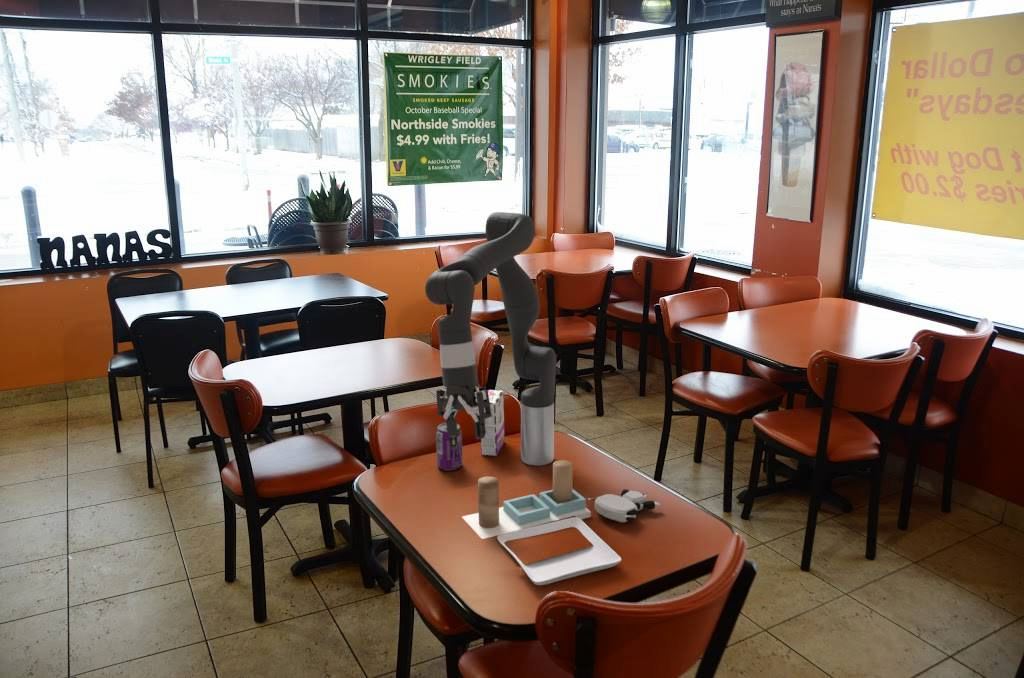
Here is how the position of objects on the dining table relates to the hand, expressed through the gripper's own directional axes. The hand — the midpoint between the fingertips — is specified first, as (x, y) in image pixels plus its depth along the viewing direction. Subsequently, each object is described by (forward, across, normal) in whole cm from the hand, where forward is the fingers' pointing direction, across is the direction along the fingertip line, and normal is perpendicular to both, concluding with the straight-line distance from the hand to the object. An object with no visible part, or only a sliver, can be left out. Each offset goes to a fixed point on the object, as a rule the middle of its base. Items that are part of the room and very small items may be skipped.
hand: (466, 436), depth 178 cm
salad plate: (+30, -13, -11) cm, 35 cm away
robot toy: (+28, -12, -39) cm, 49 cm away
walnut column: (+24, +7, -11) cm, 28 cm away
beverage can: (+19, +39, -30) cm, 53 cm away
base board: (+26, +4, -20) cm, 33 cm away
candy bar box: (+18, +38, -47) cm, 63 cm away
